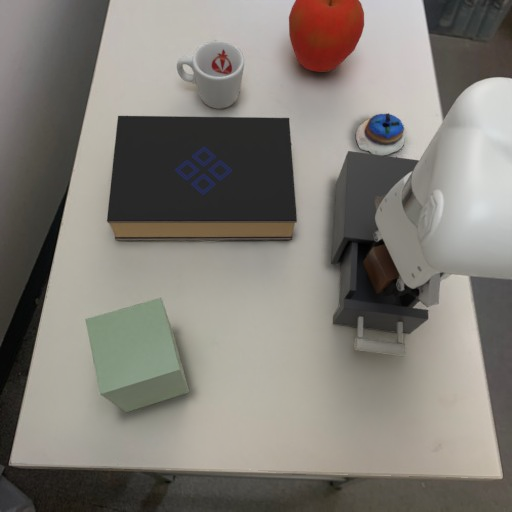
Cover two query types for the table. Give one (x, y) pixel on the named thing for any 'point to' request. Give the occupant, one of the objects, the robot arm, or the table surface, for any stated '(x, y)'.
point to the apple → (325, 31)
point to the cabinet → (362, 196)
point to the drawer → (373, 305)
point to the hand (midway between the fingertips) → (386, 272)
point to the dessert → (381, 134)
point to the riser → (136, 356)
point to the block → (380, 268)
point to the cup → (215, 72)
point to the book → (202, 179)
